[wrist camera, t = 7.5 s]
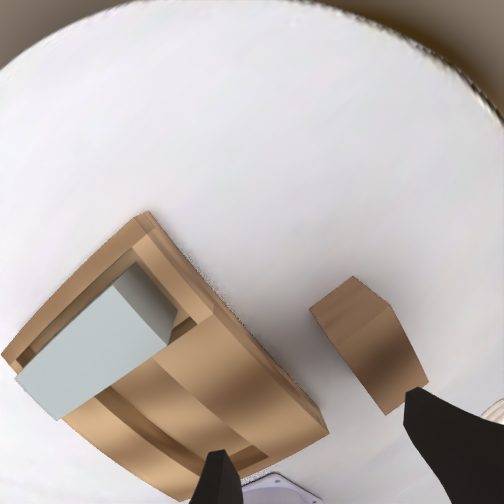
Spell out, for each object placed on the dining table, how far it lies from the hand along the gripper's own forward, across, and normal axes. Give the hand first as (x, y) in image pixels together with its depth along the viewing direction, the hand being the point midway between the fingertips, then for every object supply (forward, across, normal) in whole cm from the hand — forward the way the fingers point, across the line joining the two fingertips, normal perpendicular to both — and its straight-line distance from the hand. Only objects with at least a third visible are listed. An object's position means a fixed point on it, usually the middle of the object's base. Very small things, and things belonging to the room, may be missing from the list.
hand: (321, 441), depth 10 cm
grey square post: (+8, +11, -3) cm, 14 cm away
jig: (+9, +8, +2) cm, 13 cm away
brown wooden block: (+10, -5, +2) cm, 11 cm away
